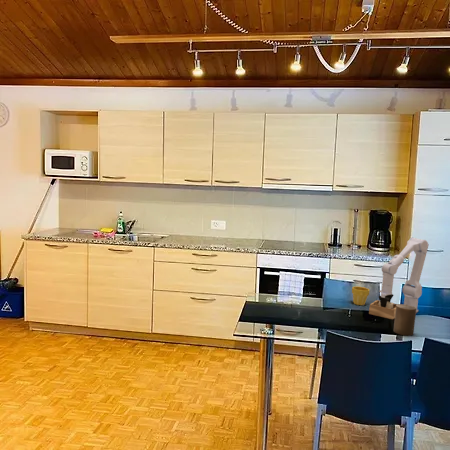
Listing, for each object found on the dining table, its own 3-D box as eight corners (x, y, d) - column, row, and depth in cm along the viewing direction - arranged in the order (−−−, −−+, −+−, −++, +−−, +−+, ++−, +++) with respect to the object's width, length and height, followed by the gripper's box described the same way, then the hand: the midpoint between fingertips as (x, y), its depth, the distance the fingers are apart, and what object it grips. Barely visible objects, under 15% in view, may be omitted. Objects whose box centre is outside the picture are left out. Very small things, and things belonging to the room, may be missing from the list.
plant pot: (369, 303, 290) (371, 288, 289) (365, 307, 281) (367, 291, 280) (353, 300, 295) (354, 285, 294) (348, 303, 286) (350, 288, 285)
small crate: (380, 310, 274) (381, 300, 273) (392, 312, 270) (393, 302, 269) (377, 312, 270) (378, 301, 269) (390, 314, 266) (391, 304, 265)
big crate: (375, 308, 279) (376, 300, 279) (399, 314, 272) (400, 305, 271) (368, 313, 268) (369, 304, 268) (392, 319, 261) (394, 309, 260)
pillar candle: (413, 337, 233) (417, 308, 231) (392, 333, 236) (396, 304, 235) (413, 331, 242) (416, 303, 240) (393, 328, 245) (396, 300, 244)
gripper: (384, 281, 276) (381, 303, 278) (376, 285, 264) (374, 308, 266) (396, 283, 272) (393, 306, 274) (389, 287, 260) (386, 311, 262)
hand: (384, 307), depth 270 cm, fingers open, 7 cm apart
